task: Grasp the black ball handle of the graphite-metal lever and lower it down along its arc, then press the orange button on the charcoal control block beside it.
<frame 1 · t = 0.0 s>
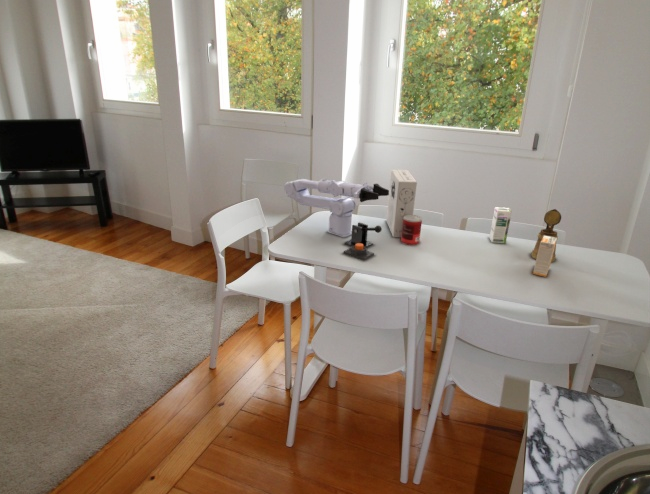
hand: (383, 194, 187), 22 cm above the table, tool horizontal, fingers open, 7 cm apart
control block: (358, 254, 186), on the table
supplement box: (540, 272, 175), on the table
cereal box: (397, 229, 214), on the table
brass disc-topped stand: (543, 256, 189), on the table
lever: (368, 229, 189), point 8 cm above the table, hinge at 15.0°
syrup box: (497, 241, 203), on the table
bracket: (358, 244, 195), on the table
button: (359, 246, 184), point 3 cm above the table, slide at 0.1 cm
canned food: (409, 242, 200), on the table
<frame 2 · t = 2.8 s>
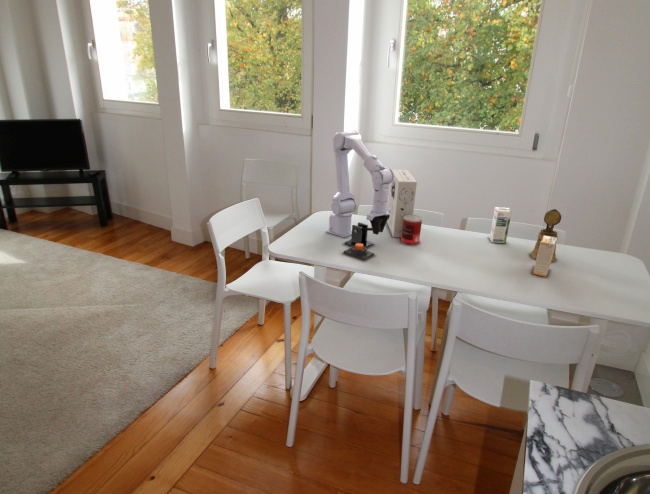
hand: (377, 232, 187), 8 cm above the table, tool pointing down, fingers closed on lever, 3 cm apart
lever: (368, 229, 189), point 8 cm above the table, hinge at 15.0°, touching gripper
everything else where it was.
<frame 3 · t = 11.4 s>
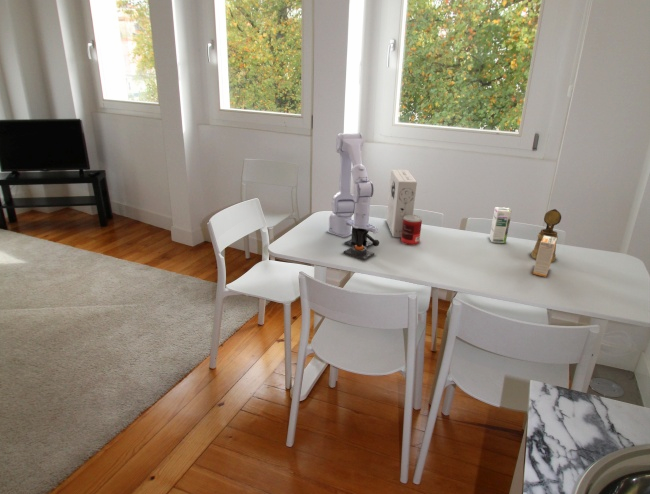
hand: (359, 245, 184), 4 cm above the table, tool pointing down, fingers closed, pressing on button
lever: (367, 236, 191), point 5 cm above the table, hinge at -25.0°
button: (359, 247, 184), point 3 cm above the table, slide at -0.4 cm, touching gripper
everything else where it was.
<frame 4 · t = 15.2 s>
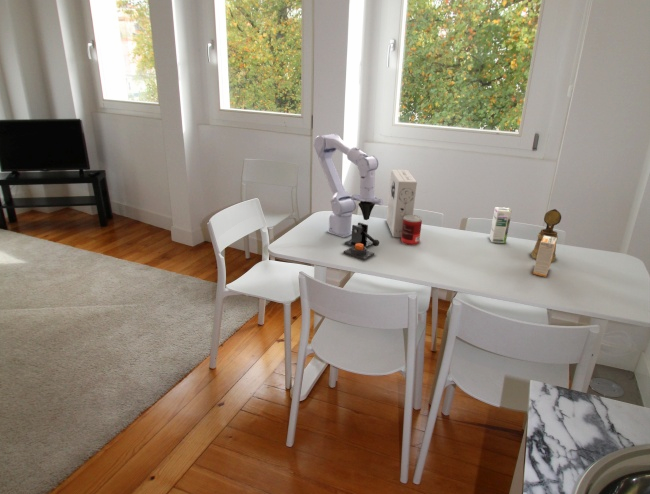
hand: (366, 219, 193), 10 cm above the table, tool pointing down, fingers closed
button: (359, 246, 184), point 3 cm above the table, slide at 0.1 cm
everything else where it was.
at the end: lever at -25° (first picture: +15°); button pushed in 0.9 cm at the most during the clip, back to where it started at the end; button slide at 0.1 cm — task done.
